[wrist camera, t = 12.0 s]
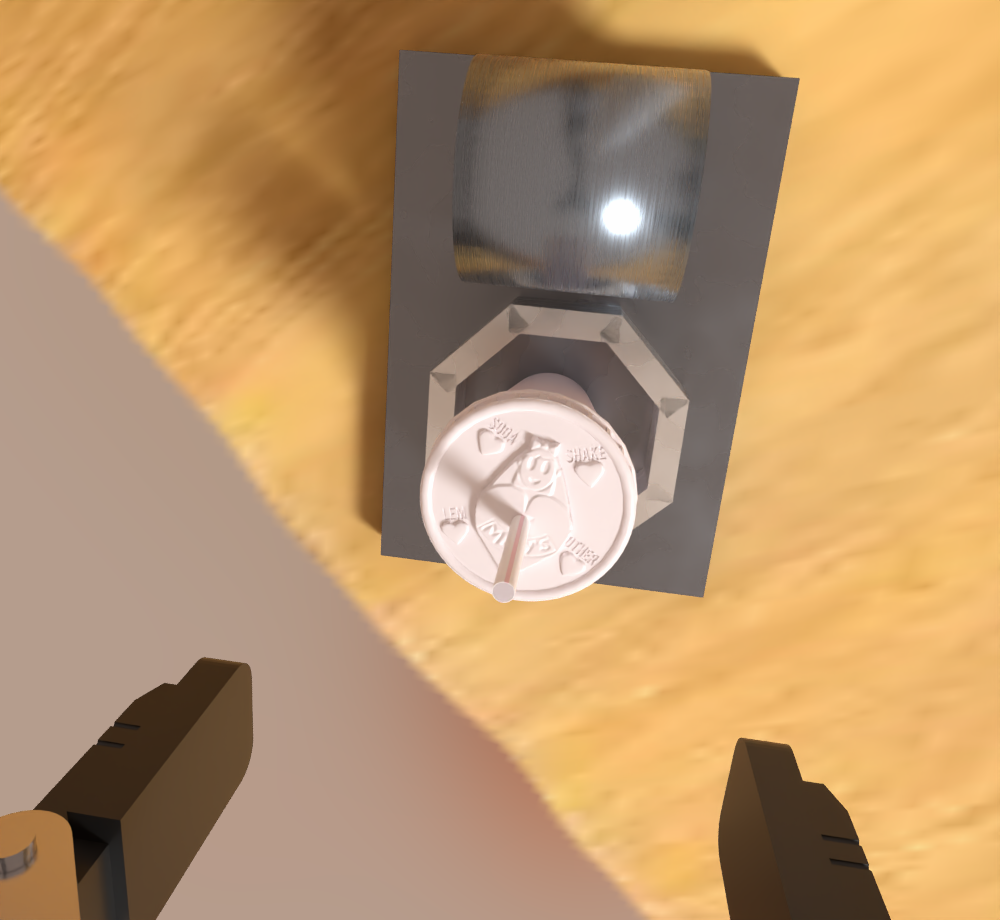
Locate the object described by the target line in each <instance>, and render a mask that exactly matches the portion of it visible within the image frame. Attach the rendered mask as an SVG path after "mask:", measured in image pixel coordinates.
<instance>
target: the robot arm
mask: <svg viewBox="0 0 1000 920" xmlns="http://www.w3.org/2000/svg"><path fill="white" fill-rule="evenodd" d="M252 716H253V714H252V676H251V669H250V667H249V665H248V664H246V663H240V662H232V661H226V660H219V659H213V658H206V657H204V658H201V659H200V660H198V661H197V663H196V664H195V665H194V666H193V667H192V668H191V669H190V670H189V672H188V673H187V674H186V675H185V676H184V677H183V679H182V680H181V681H180V682H179V683H178V684H177V685H174V684H167V683H164V684H162V685H160V686H159V687H157V688H155V689H153V690H152V691H150V692H148V693H146V694H145V695H143V696H141V697H140V698H138V699H136V700H135V701H134V702H133V703H132V704H131V705H130V706H129V707H128V708H127V709H126V710H125V711H124V712H123V713H122V715H121V716H120V717H119V718H118V719H117V720H116V721H115V724H114V726H113V727H112V726H110V728H109V729H108V730H107V731H106V732H105V733H104V734H103V735H102V736H101V737H100V738H99V739H98V743H97V745H93V746H92V747H91V748H90V749H89V750H88V751H87V752H86V753H85V754H84V756H83V757H82V758H81V759H80V760H79V761H78V762H77V763H76V764H75V765H74V766H73V767H72V769H70V771H69V772H68V773H67V774H66V775H65V776H64V777H63V778H62V779H61V780H60V781H59V783H58V784H57V785H56V786H55V787H54V788H53V789H52V790H51V791H50V792H49V793H48V794H47V795H46V796H45V797H44V799H43V800H42V801H41V802H40V803H39V804H38V805H37V806H36V807H35V808H34V809H33V810H29V811H20V812H16V813H11V814H8V815H5V816H2V817H0V920H156V918H157V917H158V915H159V913H160V912H161V910H162V909H163V907H164V906H165V904H166V902H167V901H168V899H169V897H170V896H171V894H172V893H173V891H174V889H175V888H176V886H177V884H178V883H179V881H180V880H181V878H182V876H183V875H184V873H185V871H186V870H187V868H188V867H189V865H190V863H191V862H192V860H193V859H194V857H195V855H196V854H197V852H198V851H199V849H200V847H201V846H202V844H203V842H204V841H205V839H206V837H207V836H208V834H209V833H210V831H211V830H212V828H213V826H214V824H215V823H216V821H217V820H218V818H219V816H220V815H221V813H222V812H223V810H224V808H225V807H226V805H227V804H228V802H229V800H230V799H231V797H232V796H233V794H234V792H235V791H236V789H237V787H238V786H239V784H240V783H241V781H242V779H243V777H244V775H245V773H246V770H247V768H248V765H249V761H250V757H251V753H252V747H253V717H252ZM718 845H719V858H720V864H721V869H722V875H723V881H724V886H725V892H726V898H727V903H728V909H729V915H730V920H891V919H890V916H889V914H888V911H887V909H886V906H885V904H884V901H883V899H882V896H881V894H880V891H879V889H878V886H877V884H876V881H875V879H874V876H873V874H872V871H870V870H869V864H868V861H867V859H866V856H865V854H864V851H863V849H862V846H859V839H858V836H857V834H856V831H855V829H854V826H853V824H852V821H851V819H850V816H849V814H848V811H847V810H846V809H845V808H844V807H843V806H842V804H841V803H840V802H839V801H838V800H837V799H836V798H835V796H834V795H833V794H832V793H831V792H830V791H829V790H828V789H827V787H826V786H825V785H824V784H819V783H813V782H806V781H803V780H802V777H801V774H800V771H799V769H798V766H797V763H796V760H795V757H794V754H793V751H792V749H791V747H790V746H789V745H787V744H780V743H773V742H767V741H760V740H753V739H746V738H739V740H738V741H737V744H736V746H735V750H734V755H733V759H732V764H731V769H730V773H729V778H728V782H727V787H726V791H725V796H724V801H723V805H722V810H721V815H720V821H719V835H718Z"/></svg>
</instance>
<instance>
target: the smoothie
mask: <svg viewBox="0 0 1000 920" xmlns="http://www.w3.org/2000/svg"><path fill="white" fill-rule="evenodd" d="M637 499H638V495H637V484H636V473H635V469H634V466H633V464H632V461H631V459H630V456H629V453H628V451H627V448H626V446H625V444H624V443H623V441H622V440H621V439H620V437H619V436H618V435H617V433H616V432H615V431H614V429H613V428H612V427H611V425H610V424H609V423H608V422H607V421H606V420H605V419H603V418H602V417H601V416H599V415H598V414H597V413H596V411H595V409H594V407H593V405H592V403H591V401H590V399H589V397H588V395H587V394H586V392H585V391H584V390H583V388H582V387H581V386H580V385H579V384H577V383H576V382H575V381H573V380H572V379H570V378H568V377H566V376H563V375H560V374H556V373H539V374H535V375H532V376H529V377H527V378H525V379H523V380H522V381H520V382H519V383H517V384H516V385H515V386H513V387H512V388H510V389H509V390H508V391H502V392H499V393H496V394H494V395H491V396H488V397H486V398H483V399H480V400H478V401H475V402H474V403H472V404H471V405H469V406H468V407H467V408H465V409H464V410H463V411H461V412H460V413H459V414H457V415H456V416H455V417H453V418H452V419H451V420H450V422H449V423H448V424H447V426H446V427H445V428H444V429H443V431H442V432H441V433H440V435H439V436H438V437H437V438H436V440H435V442H434V445H433V447H432V450H431V452H430V454H429V457H428V459H427V461H426V464H425V467H424V470H423V473H422V479H421V485H420V507H421V514H422V518H423V523H424V526H425V529H426V531H427V534H428V536H429V538H430V540H431V542H432V544H433V546H434V547H435V549H436V551H437V552H438V554H439V555H440V556H441V558H442V559H443V560H444V561H445V562H446V564H447V565H448V566H449V567H450V568H451V569H452V570H453V571H454V572H455V573H457V574H458V575H459V576H460V577H462V578H463V579H464V580H466V581H467V582H469V583H470V584H472V585H474V586H475V587H477V588H479V589H481V590H483V591H486V592H488V593H490V594H492V595H493V597H494V598H495V599H496V600H497V601H499V602H502V603H506V602H509V601H511V600H519V601H544V600H552V599H557V598H561V597H564V596H568V595H570V594H573V593H575V592H578V591H580V590H582V589H584V588H586V587H588V586H589V585H591V584H592V583H594V582H595V581H597V580H598V579H599V578H601V577H602V576H603V575H604V574H605V573H606V572H607V571H608V570H609V569H610V568H611V567H612V566H613V565H614V564H615V562H616V561H617V560H618V559H619V557H620V556H621V554H622V553H623V551H624V549H625V547H626V545H627V543H628V541H629V538H630V536H631V533H632V530H633V526H634V522H635V516H636V505H637Z"/></svg>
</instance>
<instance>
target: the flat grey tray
mask: <svg viewBox="0 0 1000 920" xmlns="http://www.w3.org/2000/svg"><path fill="white" fill-rule="evenodd" d="M799 80H800V78H787V77H773V76H759V75H745V74H731V73H716V72H709V70H701V69H687V68H673V67H659V66H644V65H630V64H616V63H602V62H588V61H574V60H560V59H546V58H532V57H518V56H504V55H490V54H476V55H464V54H450V53H436V52H422V51H408V50H400V53H399V79H398V106H397V133H396V160H395V187H394V214H393V241H392V268H391V294H390V321H389V348H388V375H387V402H386V429H385V456H384V483H383V509H382V536H381V555H384V556H392V557H400V558H407V559H415V560H422V561H430V562H437V563H445V564H446V562H445V561H444V560H443V559H442V558H441V556H440V555H439V554H438V552H437V551H436V549H435V547H434V546H433V544H432V542H431V540H430V538H429V536H428V534H427V531H426V529H425V526H424V523H423V518H422V514H421V507H420V485H421V479H422V473H423V470H424V467H425V464H426V461H427V459H428V457H429V454H430V452H431V450H432V447H433V445H434V442H435V440H436V438H437V437H438V436H439V435H440V433H441V432H442V431H443V429H444V428H445V427H446V426H447V424H448V423H449V422H450V420H451V419H452V418H453V417H455V416H456V415H457V414H459V413H460V412H461V411H463V410H464V409H465V408H467V407H468V406H469V405H471V404H472V403H474V402H475V401H478V400H480V399H483V398H486V397H488V396H491V395H494V394H496V393H499V392H502V391H508V390H509V389H510V388H512V387H513V386H515V385H516V384H517V383H519V382H520V381H522V380H523V379H525V378H527V377H529V376H532V375H535V374H539V373H556V374H560V375H563V376H566V377H568V378H570V379H572V380H573V381H575V382H576V383H577V384H579V385H580V386H581V387H582V388H583V390H584V391H585V392H586V394H587V395H588V397H589V399H590V401H591V403H592V405H593V407H594V409H595V411H596V413H597V414H598V415H599V416H601V417H602V418H603V419H605V420H606V421H607V422H608V423H609V424H610V425H611V427H612V428H613V429H614V431H615V432H616V433H617V435H618V436H619V437H620V439H621V440H622V441H623V443H624V444H625V446H626V448H627V451H628V453H629V456H630V459H631V461H632V464H633V466H634V469H635V473H636V484H637V495H638V499H637V505H636V516H635V522H634V526H633V530H632V533H631V536H630V538H629V541H628V543H627V545H626V547H625V549H624V551H623V553H622V554H621V556H620V557H619V559H618V560H617V561H616V562H615V564H614V565H613V566H612V567H611V568H610V569H609V570H608V571H607V572H606V573H605V574H604V575H603V576H602V577H601V578H599V579H598V580H597V581H595V582H594V583H597V584H605V585H612V586H620V587H627V588H635V589H643V590H650V591H658V592H665V593H673V594H680V595H688V596H696V597H703V596H704V590H705V585H706V579H707V574H708V569H709V563H710V558H711V553H712V547H713V542H714V536H715V531H716V526H717V520H718V515H719V510H720V504H721V499H722V493H723V488H724V483H725V477H726V472H727V467H728V461H729V456H730V450H731V445H732V440H733V434H734V429H735V424H736V418H737V413H738V407H739V402H740V397H741V391H742V386H743V381H744V375H745V370H746V364H747V359H748V354H749V348H750V343H751V338H752V332H753V327H754V321H755V316H756V311H757V305H758V300H759V295H760V289H761V284H762V278H763V273H764V268H765V262H766V257H767V252H768V246H769V241H770V235H771V230H772V225H773V219H774V214H775V209H776V203H777V198H778V192H779V187H780V182H781V176H782V171H783V166H784V160H785V155H786V149H787V144H788V139H789V133H790V128H791V123H792V117H793V112H794V106H795V101H796V96H797V90H798V85H799Z"/></svg>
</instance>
